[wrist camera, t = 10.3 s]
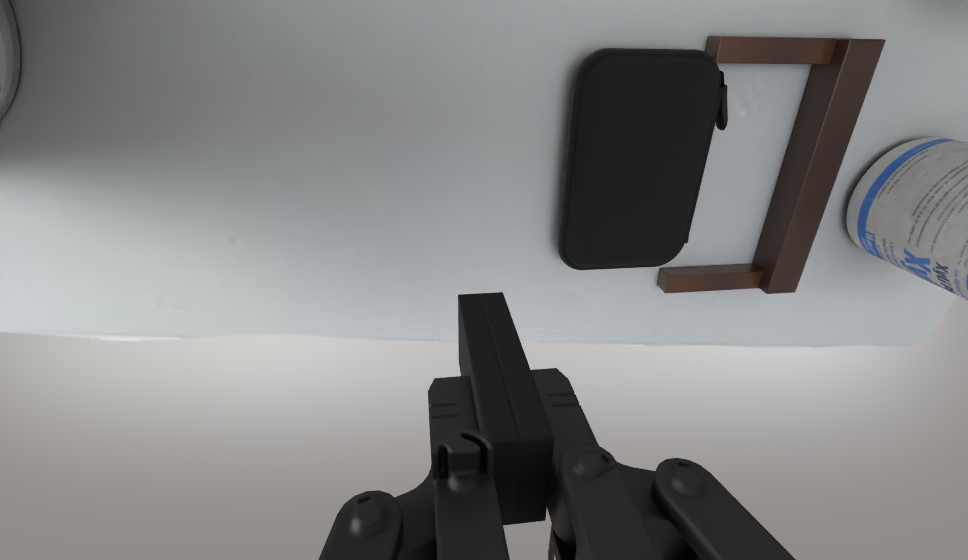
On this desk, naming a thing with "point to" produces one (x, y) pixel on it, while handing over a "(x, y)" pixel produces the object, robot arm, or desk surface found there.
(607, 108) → the carrying case
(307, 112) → the desk surface
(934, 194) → the supplement tub
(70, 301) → the desk surface
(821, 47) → the brown u-shaped frame
